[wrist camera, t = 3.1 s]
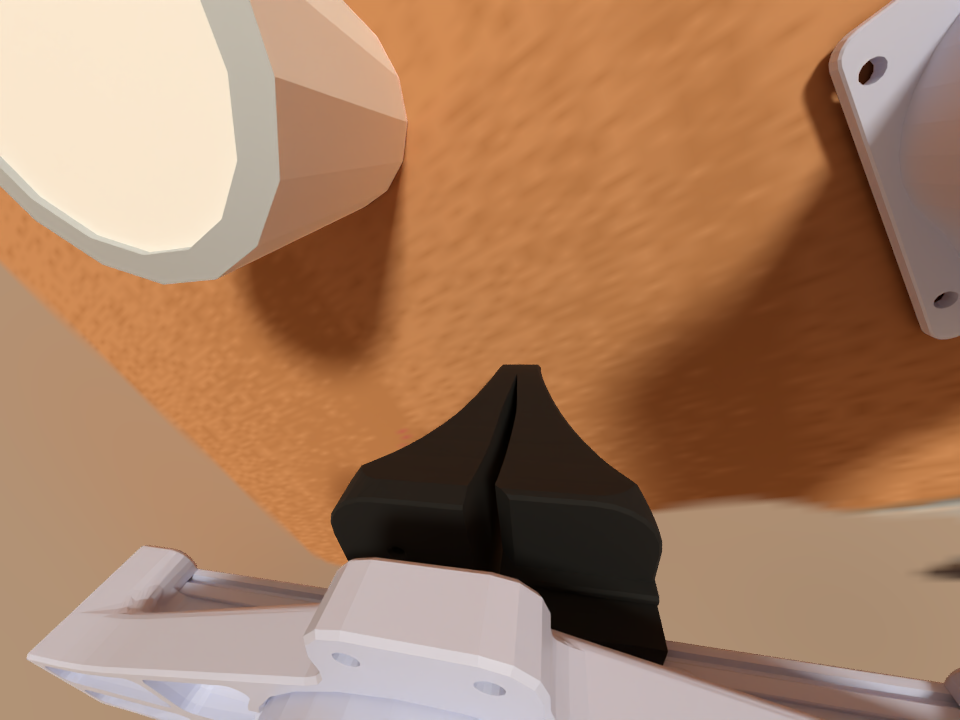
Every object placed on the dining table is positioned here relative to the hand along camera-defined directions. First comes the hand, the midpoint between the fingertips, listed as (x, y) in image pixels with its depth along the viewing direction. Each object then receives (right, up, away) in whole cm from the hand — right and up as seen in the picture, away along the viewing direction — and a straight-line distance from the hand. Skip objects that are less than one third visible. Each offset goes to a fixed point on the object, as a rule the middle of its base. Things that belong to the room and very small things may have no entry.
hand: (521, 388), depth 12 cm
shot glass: (-6, +9, -1) cm, 11 cm away
